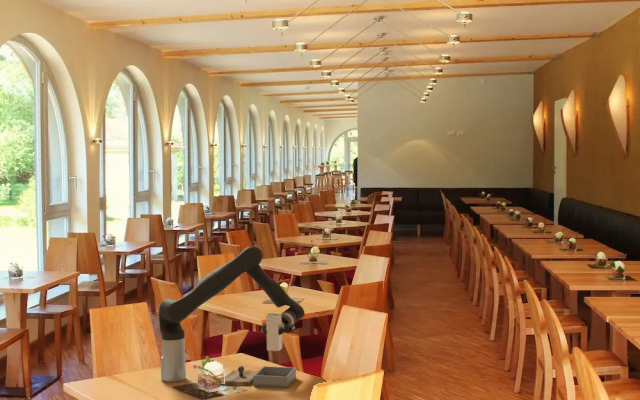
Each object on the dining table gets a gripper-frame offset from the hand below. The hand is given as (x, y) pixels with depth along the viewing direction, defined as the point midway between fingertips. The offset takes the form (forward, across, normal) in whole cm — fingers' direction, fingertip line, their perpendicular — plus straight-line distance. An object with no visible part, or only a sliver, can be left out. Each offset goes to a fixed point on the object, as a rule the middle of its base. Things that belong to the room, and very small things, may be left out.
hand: (272, 332), depth 307 cm
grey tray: (-2, 0, +21) cm, 21 cm away
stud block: (-4, -15, +21) cm, 26 cm away
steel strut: (-3, 0, +8) cm, 8 cm away
